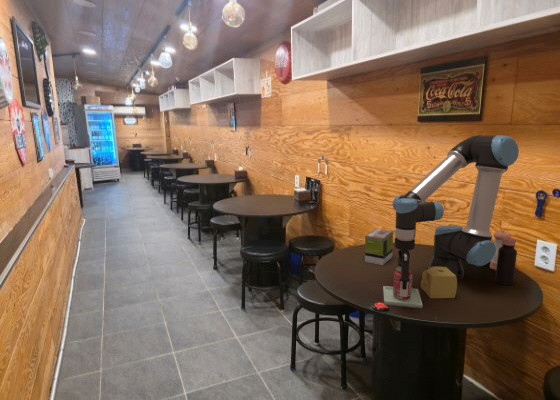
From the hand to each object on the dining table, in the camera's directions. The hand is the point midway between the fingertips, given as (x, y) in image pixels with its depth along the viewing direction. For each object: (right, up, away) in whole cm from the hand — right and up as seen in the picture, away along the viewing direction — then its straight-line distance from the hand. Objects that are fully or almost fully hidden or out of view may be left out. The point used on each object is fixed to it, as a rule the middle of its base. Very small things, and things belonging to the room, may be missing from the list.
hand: (402, 288), depth 143 cm
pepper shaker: (+57, +2, +29) cm, 64 cm away
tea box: (+3, +4, +44) cm, 44 cm away
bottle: (+50, -1, +14) cm, 52 cm away
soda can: (0, -4, +1) cm, 4 cm away
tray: (0, -4, +1) cm, 4 cm away
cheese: (+17, -3, +5) cm, 18 cm away
